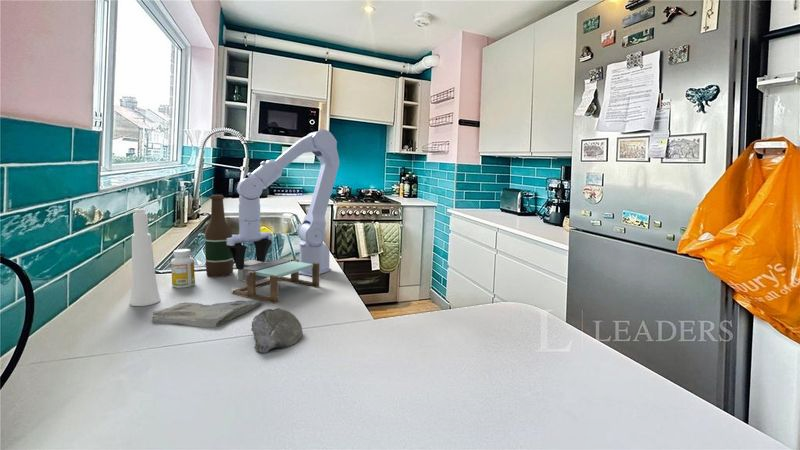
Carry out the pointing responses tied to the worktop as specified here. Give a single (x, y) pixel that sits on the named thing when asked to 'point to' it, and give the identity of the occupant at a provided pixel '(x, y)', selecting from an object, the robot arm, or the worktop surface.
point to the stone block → (247, 264)
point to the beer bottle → (218, 241)
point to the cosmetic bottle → (142, 263)
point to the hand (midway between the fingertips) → (250, 266)
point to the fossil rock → (203, 313)
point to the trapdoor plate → (276, 268)
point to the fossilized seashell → (275, 329)
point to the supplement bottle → (182, 269)
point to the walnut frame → (274, 284)
